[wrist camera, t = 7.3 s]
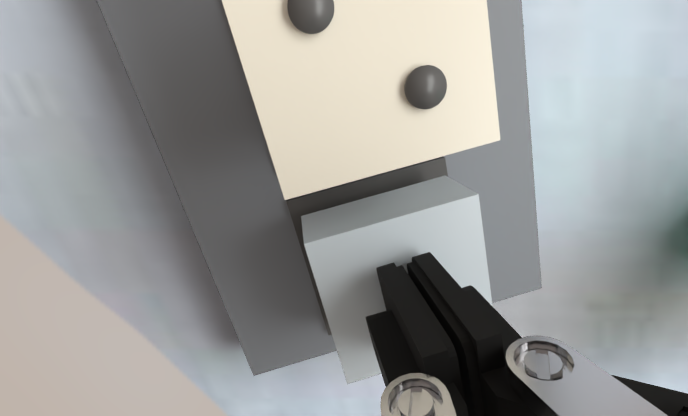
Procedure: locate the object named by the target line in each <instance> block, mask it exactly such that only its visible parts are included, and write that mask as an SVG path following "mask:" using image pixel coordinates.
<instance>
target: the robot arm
mask: <svg viewBox="0 0 688 416" xmlns="http://www.w3.org/2000/svg"><path fill="white" fill-rule="evenodd" d="M376 269H377V274H378V279H379V283H380V287H381V291H382V295H383V299H384V303H385V307H386V311H383V312H380V313H376V314H373V315H370V316H366V322H367V326H368V329H369V333H370V337H371V341H372V344H373V348H374V351H375V354H376V358H377V361H378V364H379V367H380V370H381V373H382V376H383V380H384V383H385V386H386V388H385V390H384V392H383V394H382V396H381V415H382V416H688V394H687V393H683V392H678V391H674V390H670V389H666V388H662V387H658V386H654V385H650V384H646V383H642V382H638V381H634V380H630V379H626V378H622V377H618V376H614V375H610V374H609V373H607V372H606V371H604V370H603V369H602V368H600V367H599V366H597V365H596V364H595V363H593V362H592V361H590V360H589V359H588V358H586V357H585V356H583V355H582V354H581V353H579V352H578V351H576V350H575V349H574V348H572V347H571V346H569V345H567V344H565V343H564V342H562V341H560V340H557V339H554V338H550V337H544V336H527V337H524V338H522V337H521V336H520V335H519V334H518V333H517V332H516V331H515V330H514V329H513V328H512V327H511V326H510V325H509V324H508V323H507V322H506V320H505V319H504V318H503V317H502V316H501V315H500V314H499V313H498V312H497V311H496V310H495V309H494V308H493V307H492V306H491V305H490V303H489V302H488V301H487V300H486V299H485V298H484V297H483V296H482V295H481V294H480V293H479V292H478V291H477V290H476V289H475V288H474V287H473V286H470V285H469V286H466V287H463V288H461V287H460V286H459V284H458V283H457V282H456V281H455V280H454V279H453V278H452V276H451V275H450V274H449V273H448V272H447V271H446V270H445V268H444V267H443V266H442V265H441V264H440V263H439V262H438V260H437V259H436V258H435V257H434V256H433V255H432V254H431V253H430V252H428V253H424V254H421V255H417V256H414V257H412V262H411V263H407V270H408V273H407V272H406V270H405V269H404V267H403V266H402V265H400V266H396V265H395V263H390V264H387V265H383V266H380V267H377V268H376Z"/></svg>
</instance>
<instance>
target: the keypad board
mask: <svg viewBox="0 0 688 416" xmlns="http://www.w3.org/2000/svg"><path fill="white" fill-rule="evenodd" d="M97 2H98V5H99V7H100V10H101V12H102V14H103V17H104V19H105V22H106V24H107V26H108V29H109V31H110V34H111V36H112V38H113V41H114V43H115V45H116V48H117V50H118V53H119V55H120V57H121V60H122V62H123V65H124V67H125V69H126V72H127V74H128V77H129V79H130V81H131V84H132V86H133V88H134V91H135V93H136V96H137V98H138V100H139V103H140V105H141V108H142V110H143V112H144V115H145V117H146V120H147V122H148V124H149V127H150V129H151V131H152V134H153V136H154V139H155V141H156V143H157V146H158V148H159V151H160V153H161V155H162V158H163V160H164V163H165V165H166V167H167V170H168V172H169V175H170V177H171V179H172V182H173V184H174V186H175V189H176V191H177V194H178V196H179V198H180V201H181V203H182V206H183V208H184V210H185V213H186V215H187V218H188V220H189V222H190V225H191V227H192V229H193V232H194V234H195V237H196V239H197V241H198V244H199V246H200V249H201V251H202V253H203V256H204V258H205V261H206V263H207V265H208V268H209V270H210V272H211V275H212V277H213V280H214V282H215V284H216V287H217V289H218V292H219V294H220V296H221V299H222V301H223V304H224V306H225V308H226V311H227V313H228V316H229V318H230V320H231V323H232V325H233V327H234V330H235V332H236V335H237V337H238V339H239V342H240V344H241V347H242V349H243V351H244V354H245V356H246V359H247V361H248V363H249V366H250V368H251V370H252V373H253V375H254V376H255V375H258V374H261V373H264V372H268V371H271V370H274V369H277V368H281V367H284V366H287V365H291V364H294V363H297V362H300V361H304V360H307V359H310V358H314V357H317V356H320V355H323V354H327V353H330V352H333V351H337V349H336V346H335V343H334V339H333V336H332V333H331V330H330V327H329V323H328V320H327V317H326V314H325V310H324V307H323V304H322V301H321V298H320V294H319V291H318V288H317V285H316V281H315V278H314V275H313V272H312V269H311V265H310V262H309V259H308V256H307V252H306V249H305V246H304V240H303V231H302V221H301V216H303V215H306V214H310V213H314V212H317V211H321V210H324V209H328V208H331V207H335V206H338V205H342V204H346V203H349V202H353V201H356V200H360V199H363V198H367V197H370V196H374V195H378V194H381V193H385V192H388V191H392V190H395V189H399V188H402V187H406V186H410V185H413V184H417V183H420V182H424V181H427V180H431V179H434V178H438V177H442V176H447V177H449V178H451V179H452V180H454V181H456V182H458V183H460V184H461V185H463V186H465V187H467V188H469V189H470V190H472V191H474V192H476V193H477V194H479V201H480V209H481V217H482V225H483V233H484V241H485V249H486V257H487V265H488V273H489V281H490V289H491V297H492V303H494V302H497V301H501V300H504V299H507V298H510V297H514V296H517V295H520V294H524V293H527V292H530V291H533V290H537V289H540V288H542V286H541V271H540V257H539V243H538V229H537V215H536V201H535V186H534V172H533V158H532V144H531V130H530V115H529V101H528V87H527V73H526V59H525V45H524V30H523V16H522V2H521V0H487V8H488V19H489V29H490V39H491V49H492V59H493V69H494V79H495V89H496V99H497V110H498V120H499V130H500V140H499V141H496V142H492V143H489V144H485V145H481V146H478V147H474V148H471V149H467V150H463V151H460V152H456V153H453V154H449V155H445V156H442V157H438V158H435V159H431V160H427V161H424V162H420V163H417V164H413V165H410V166H406V167H402V168H399V169H395V170H392V171H388V172H384V173H381V174H377V175H374V176H370V177H366V178H363V179H359V180H356V181H352V182H348V183H345V184H341V185H338V186H334V187H330V188H327V189H323V190H320V191H316V192H312V193H309V194H305V195H302V196H298V197H294V198H291V199H287V200H285V199H284V196H283V193H282V190H281V187H280V183H279V180H278V177H277V174H276V171H275V168H274V164H273V161H272V158H271V155H270V152H269V149H268V145H267V142H266V139H265V136H264V133H263V130H262V126H261V123H260V120H259V117H258V114H257V111H256V107H255V104H254V101H253V98H252V95H251V92H250V88H249V85H248V82H247V79H246V76H245V73H244V70H243V66H242V63H241V60H240V57H239V54H238V51H237V47H236V44H235V41H234V38H233V35H232V32H231V28H230V25H229V22H228V19H227V16H226V13H225V9H224V6H223V3H222V0H97Z"/></svg>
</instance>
